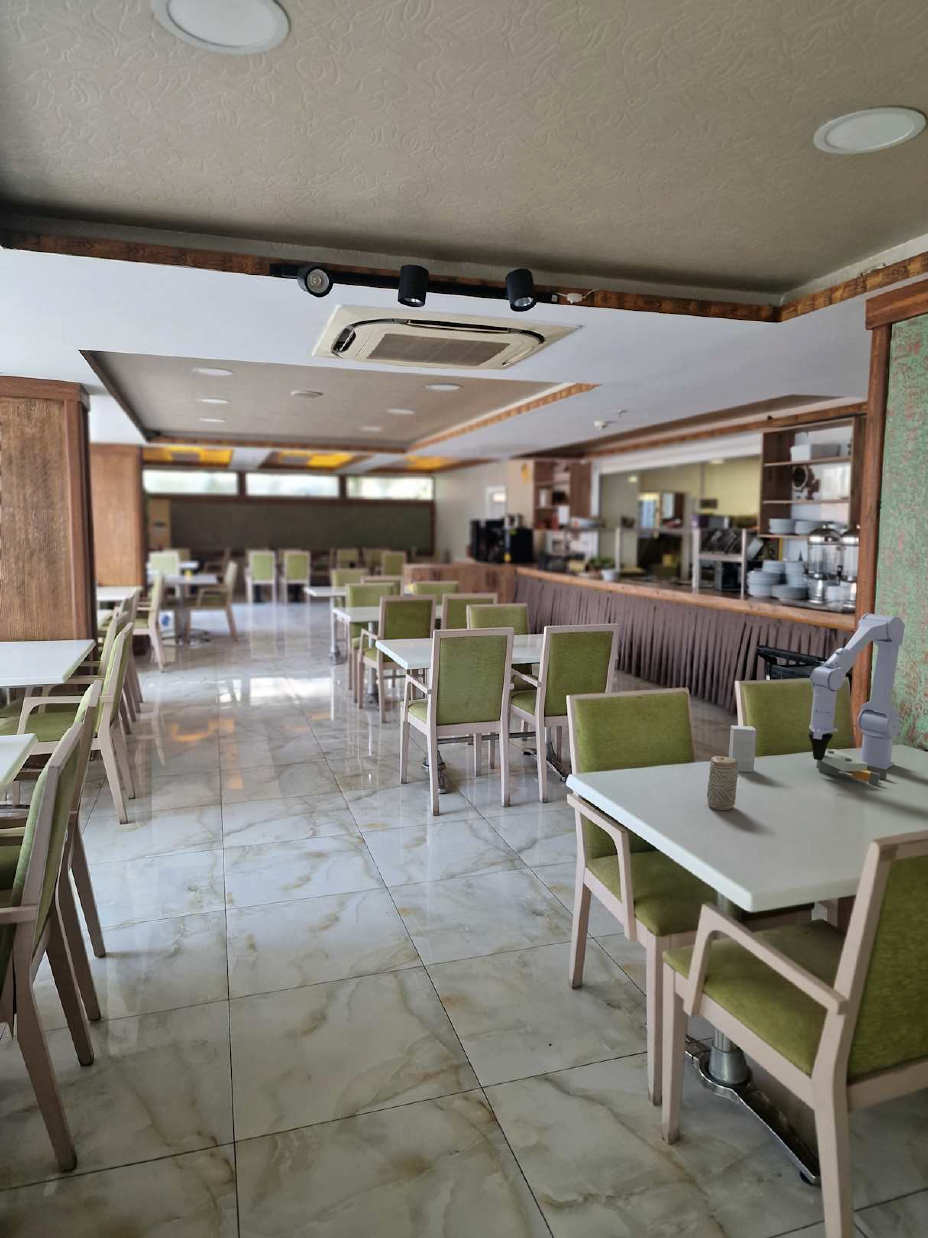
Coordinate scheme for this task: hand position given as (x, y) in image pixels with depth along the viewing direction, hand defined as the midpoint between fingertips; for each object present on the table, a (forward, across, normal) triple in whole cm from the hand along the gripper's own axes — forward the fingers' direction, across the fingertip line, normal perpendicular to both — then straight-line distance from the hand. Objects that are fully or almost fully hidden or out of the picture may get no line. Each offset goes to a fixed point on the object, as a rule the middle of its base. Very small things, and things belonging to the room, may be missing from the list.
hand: (818, 759), depth 211 cm
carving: (+5, -43, +15) cm, 46 cm away
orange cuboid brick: (+4, +5, -11) cm, 13 cm away
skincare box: (+5, -9, +18) cm, 21 cm away
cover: (+4, +3, -4) cm, 7 cm away
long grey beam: (+4, +6, -8) cm, 11 cm away
